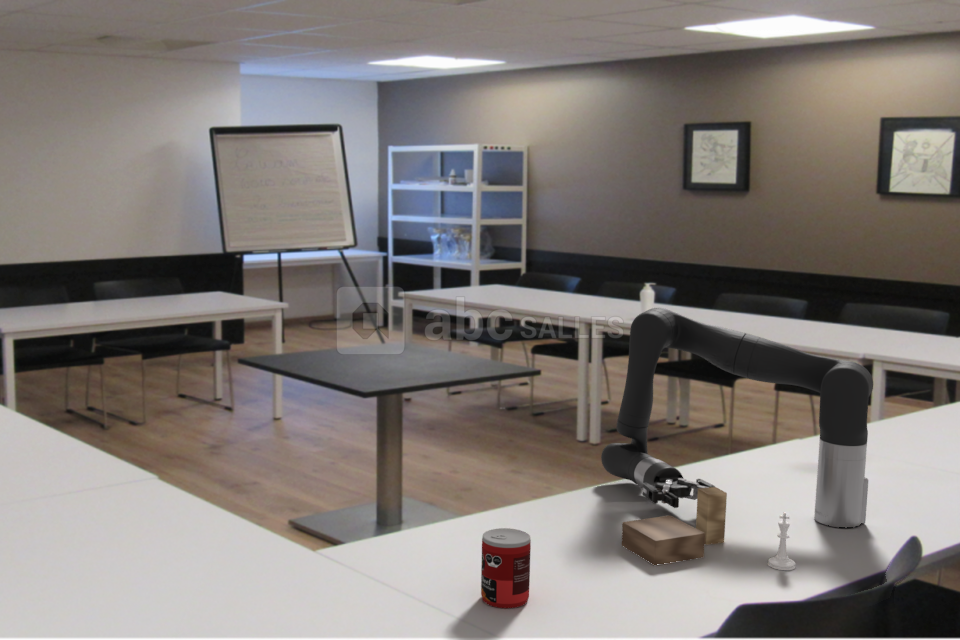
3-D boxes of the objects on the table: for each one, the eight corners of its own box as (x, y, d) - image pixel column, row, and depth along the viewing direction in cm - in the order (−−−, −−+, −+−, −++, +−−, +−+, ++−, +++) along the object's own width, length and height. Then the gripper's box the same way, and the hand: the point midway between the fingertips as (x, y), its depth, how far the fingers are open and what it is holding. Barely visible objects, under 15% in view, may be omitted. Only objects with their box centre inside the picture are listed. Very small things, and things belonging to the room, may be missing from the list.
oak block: (713, 535, 196) (715, 487, 195) (724, 542, 193) (726, 493, 191) (695, 537, 195) (697, 488, 194) (706, 544, 191) (708, 494, 190)
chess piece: (796, 571, 179) (800, 518, 177) (768, 569, 180) (771, 515, 178) (794, 561, 184) (797, 509, 182) (766, 559, 185) (769, 507, 183)
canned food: (478, 590, 168) (480, 528, 166) (525, 589, 168) (527, 527, 167) (482, 609, 160) (484, 544, 159) (532, 608, 161) (533, 543, 159)
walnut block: (668, 539, 195) (669, 515, 194) (703, 559, 185) (705, 533, 184) (621, 547, 190) (622, 522, 190) (654, 567, 180) (655, 540, 180)
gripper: (628, 463, 211) (665, 486, 196) (688, 459, 216) (728, 480, 200) (627, 498, 212) (663, 522, 197) (686, 493, 217) (726, 516, 201)
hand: (696, 501), depth 199 cm, fingers open, 8 cm apart
